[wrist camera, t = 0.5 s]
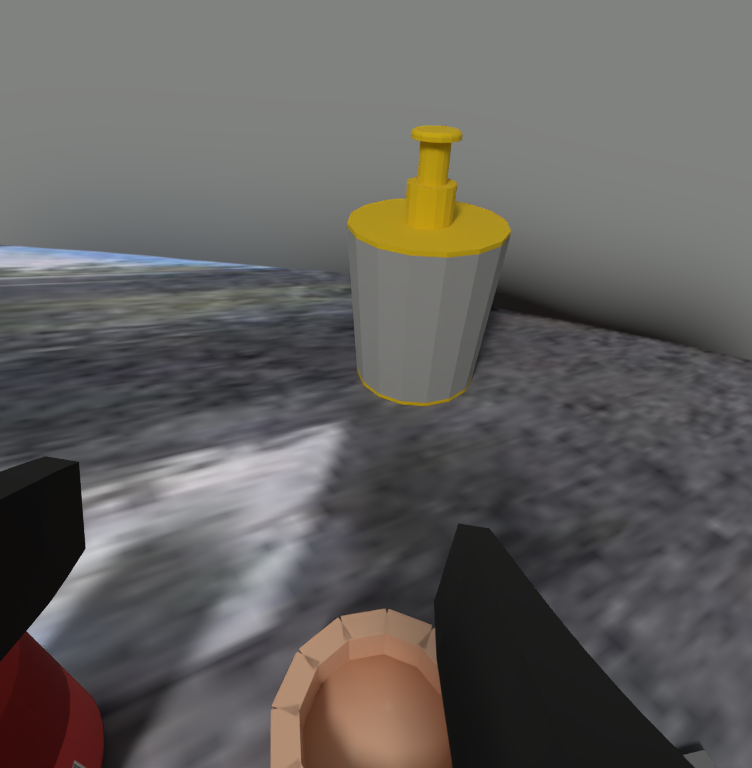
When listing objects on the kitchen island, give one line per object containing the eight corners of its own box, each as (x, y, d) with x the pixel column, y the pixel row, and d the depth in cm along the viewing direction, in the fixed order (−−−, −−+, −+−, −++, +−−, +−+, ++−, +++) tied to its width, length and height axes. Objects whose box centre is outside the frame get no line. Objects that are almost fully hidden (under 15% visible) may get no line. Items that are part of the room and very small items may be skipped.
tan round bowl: (508, 855, 18) (526, 843, 16) (280, 915, 17) (270, 910, 15) (442, 625, 26) (449, 597, 24) (278, 654, 24) (271, 627, 22)
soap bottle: (460, 332, 51) (496, 116, 38) (498, 407, 41) (564, 147, 28) (345, 336, 49) (340, 114, 36) (354, 415, 39) (351, 146, 26)
